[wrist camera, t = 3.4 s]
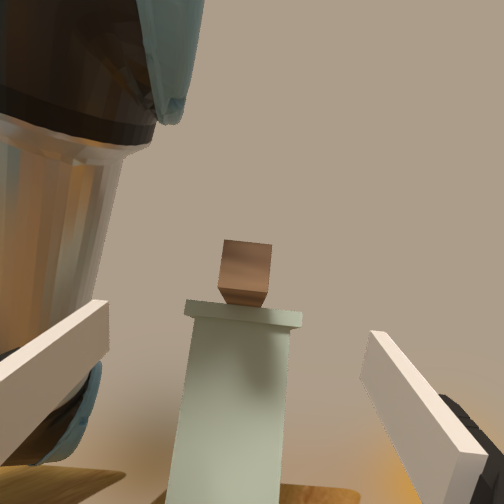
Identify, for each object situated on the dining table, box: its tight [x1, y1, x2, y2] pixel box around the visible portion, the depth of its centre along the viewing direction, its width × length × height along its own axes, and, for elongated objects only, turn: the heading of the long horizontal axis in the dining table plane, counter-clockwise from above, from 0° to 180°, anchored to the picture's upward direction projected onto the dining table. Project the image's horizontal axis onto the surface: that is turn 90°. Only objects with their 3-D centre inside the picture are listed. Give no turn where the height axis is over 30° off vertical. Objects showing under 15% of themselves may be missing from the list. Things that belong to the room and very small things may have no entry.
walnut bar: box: [218, 240, 272, 308], centre depth 33 cm, size 26×4×4 cm, turn 1°
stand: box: [165, 300, 303, 504], centre depth 31 cm, size 14×14×30 cm
